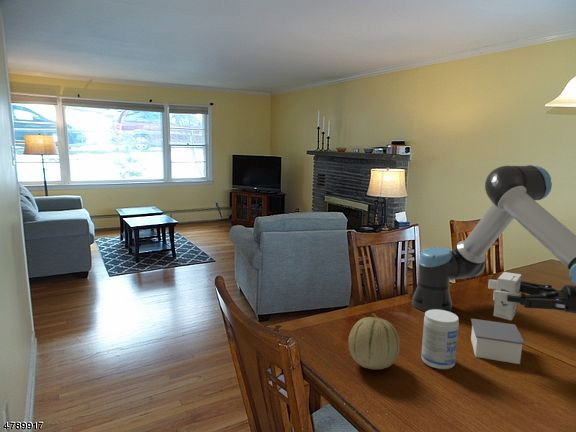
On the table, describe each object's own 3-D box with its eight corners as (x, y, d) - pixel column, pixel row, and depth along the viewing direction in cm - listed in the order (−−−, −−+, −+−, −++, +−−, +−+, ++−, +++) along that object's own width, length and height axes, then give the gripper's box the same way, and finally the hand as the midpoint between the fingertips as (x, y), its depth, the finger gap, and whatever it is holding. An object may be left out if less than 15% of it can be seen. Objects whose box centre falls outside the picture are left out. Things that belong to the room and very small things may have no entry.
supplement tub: (452, 374, 110) (457, 325, 107) (417, 365, 115) (421, 317, 112) (456, 358, 118) (461, 313, 116) (424, 350, 123) (427, 306, 120)
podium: (473, 357, 119) (475, 335, 118) (469, 338, 131) (471, 318, 130) (522, 365, 115) (524, 343, 114) (512, 344, 127) (515, 324, 126)
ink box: (499, 307, 121) (503, 270, 119) (517, 311, 118) (522, 274, 116) (492, 316, 114) (497, 277, 112) (511, 321, 111) (516, 281, 109)
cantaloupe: (361, 384, 105) (363, 332, 102) (339, 356, 119) (340, 310, 116) (409, 376, 109) (413, 325, 106) (382, 350, 123) (385, 305, 120)
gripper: (594, 329, 99) (495, 316, 107) (565, 298, 120) (484, 288, 127) (598, 302, 98) (498, 289, 105) (569, 275, 118) (487, 266, 126)
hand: (491, 289), depth 116 cm, fingers closed on ink box, 9 cm apart
